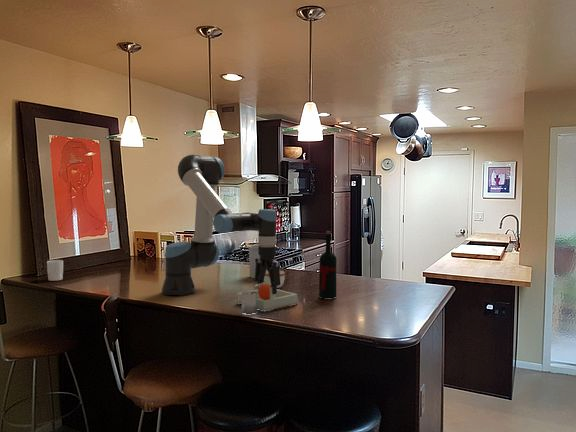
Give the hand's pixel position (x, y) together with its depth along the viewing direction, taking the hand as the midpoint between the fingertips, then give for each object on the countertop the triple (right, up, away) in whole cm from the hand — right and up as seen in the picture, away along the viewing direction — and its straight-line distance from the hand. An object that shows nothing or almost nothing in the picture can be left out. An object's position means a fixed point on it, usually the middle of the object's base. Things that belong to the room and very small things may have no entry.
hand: (267, 299), depth 192 cm
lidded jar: (+2, 0, +32) cm, 33 cm away
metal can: (-6, -3, -14) cm, 15 cm away
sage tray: (0, -2, 0) cm, 2 cm away
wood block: (-3, -1, +16) cm, 16 cm away
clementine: (0, 0, 0) cm, 1 cm away
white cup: (-115, +1, +50) cm, 126 cm away
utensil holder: (-6, +1, +59) cm, 59 cm away
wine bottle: (+26, -2, +11) cm, 29 cm away
